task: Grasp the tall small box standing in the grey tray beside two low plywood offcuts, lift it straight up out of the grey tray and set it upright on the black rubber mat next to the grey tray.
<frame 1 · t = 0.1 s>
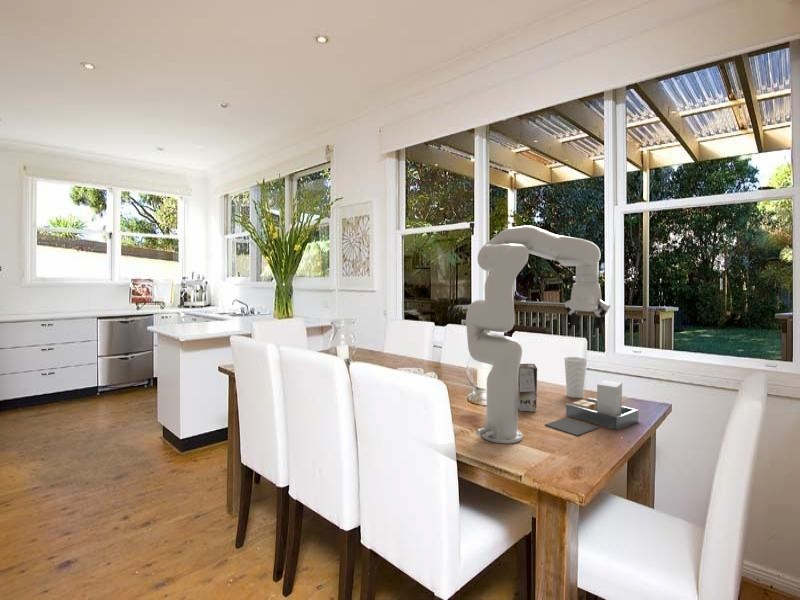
hand: (585, 326, 162), 31 cm above the table, fingers open, 9 cm apart
offcut b: (580, 412, 161), resting in grey tray
small box: (608, 421, 153), resting in grey tray
coffee box: (526, 408, 167), on the table
offcut a: (588, 414, 159), resting in grey tray
grey tray: (600, 418, 155), on the table
mat: (571, 426, 146), on the table
cup: (574, 396, 182), on the table
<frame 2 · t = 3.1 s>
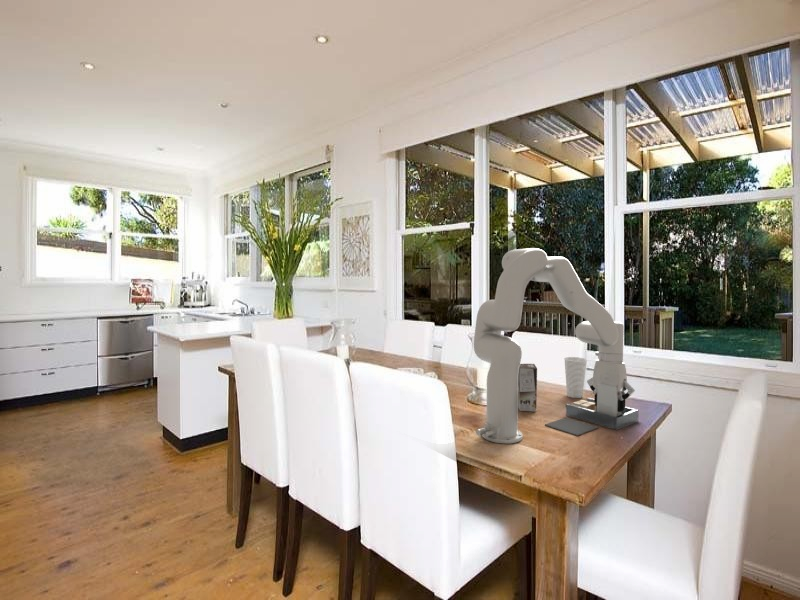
hand: (609, 407, 152), 4 cm above the table, fingers closed on small box, 7 cm apart
small box: (609, 420, 153), resting in grey tray, touching gripper
everything else where it was.
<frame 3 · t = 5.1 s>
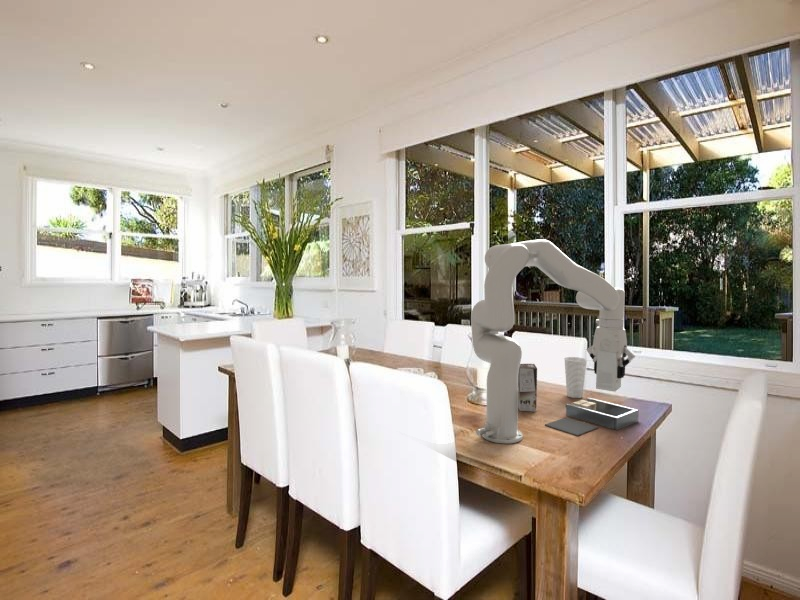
hand: (608, 375, 151), 16 cm above the table, fingers closed on small box, 7 cm apart
small box: (608, 388, 152), point 11 cm above the table, touching gripper
everything else where it was.
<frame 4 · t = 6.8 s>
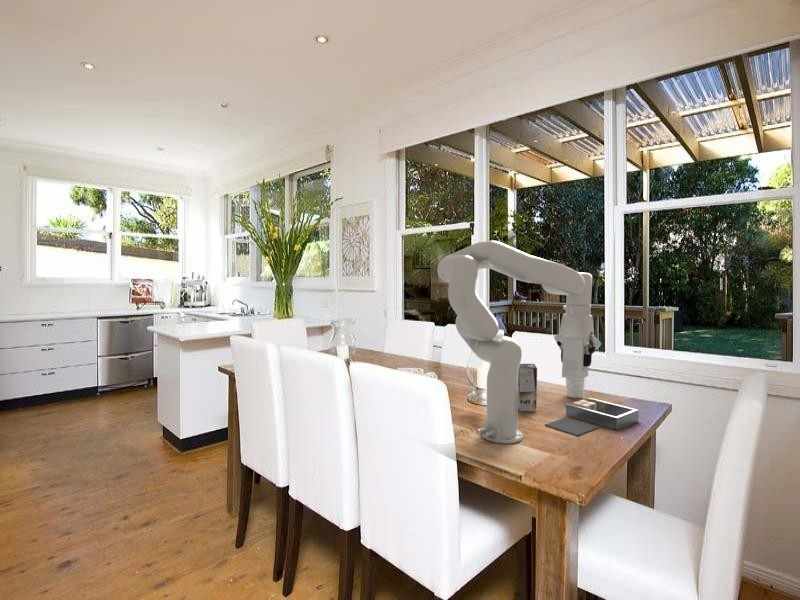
hand: (575, 363, 146), 21 cm above the table, fingers closed on small box, 7 cm apart
small box: (574, 377, 146), point 16 cm above the table, touching gripper
everything else where it was.
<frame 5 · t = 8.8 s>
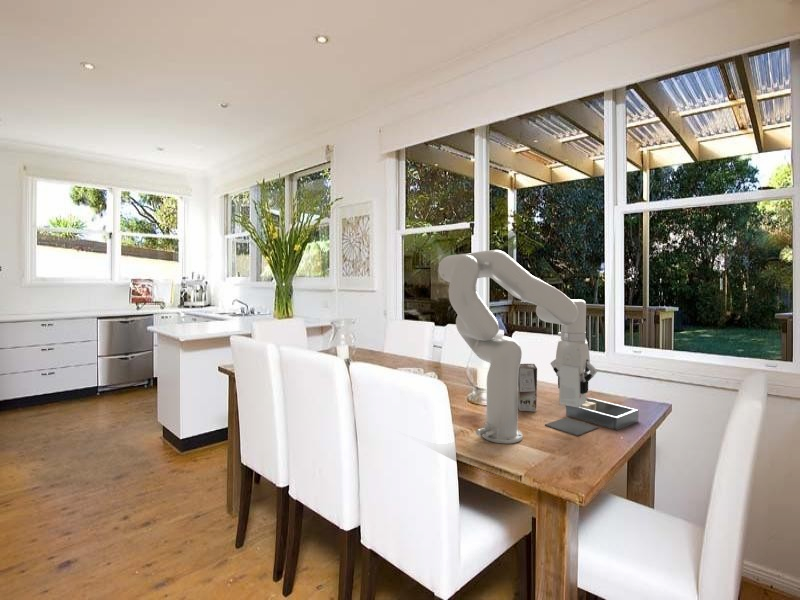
hand: (572, 390, 146), 12 cm above the table, fingers closed on small box, 7 cm apart
small box: (572, 403, 146), point 8 cm above the table, touching gripper
everything else where it was.
when the fingers open (6 cm above the table, at t = 10.5 s): small box drops 1 cm, resting on mat.
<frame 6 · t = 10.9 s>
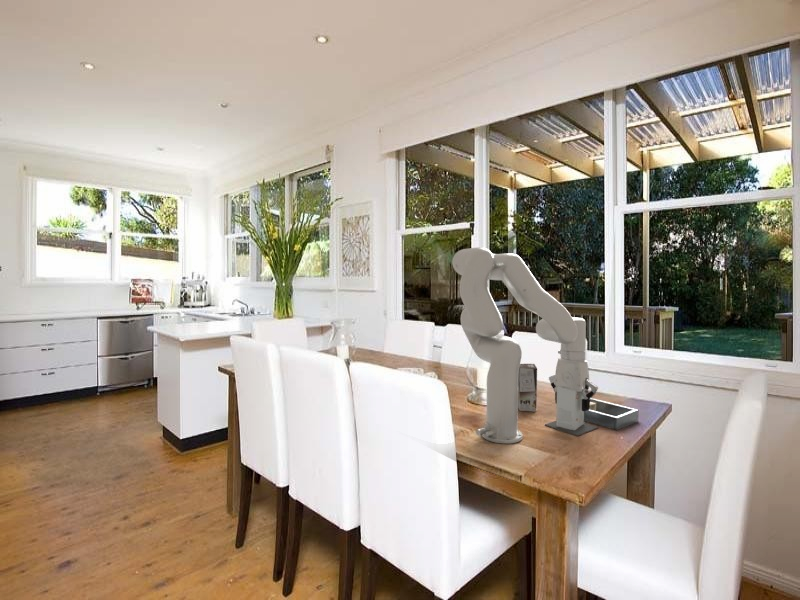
hand: (571, 406, 146), 7 cm above the table, fingers open, 9 cm apart
small box: (570, 426, 147), resting on mat
everything else where it was.
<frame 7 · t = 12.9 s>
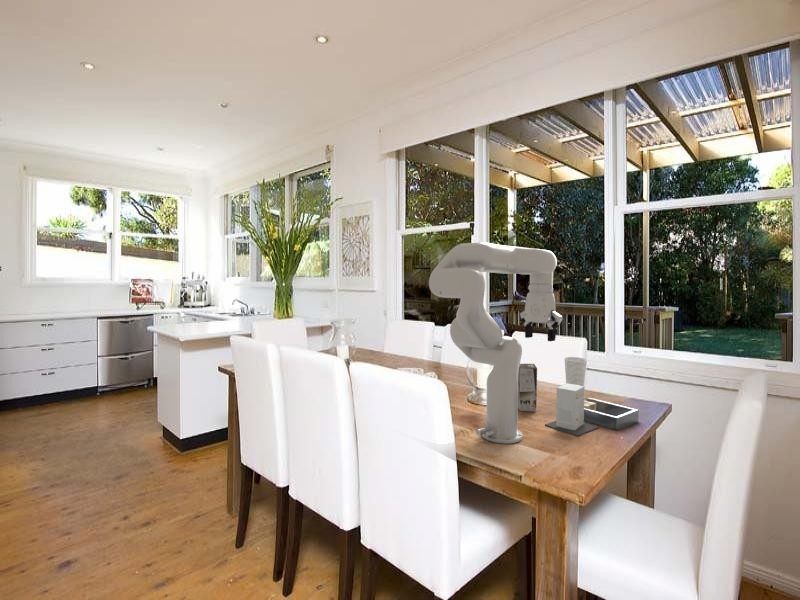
hand: (539, 339, 152), 28 cm above the table, fingers open, 9 cm apart
nothing on the table moved.
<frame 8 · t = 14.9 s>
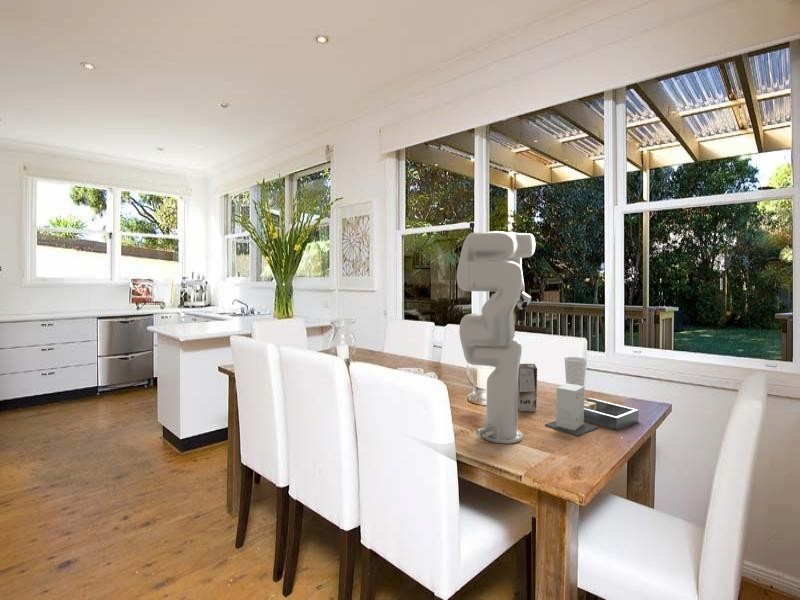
hand: (510, 319, 159), 34 cm above the table, fingers open, 9 cm apart
nothing on the table moved.
at the end: small box inside the target area on the mat (0.4 cm from its centre), point 0.2 cm above the mat's base; small box tilted 0°; offcut a moved 0.1 cm from its start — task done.
